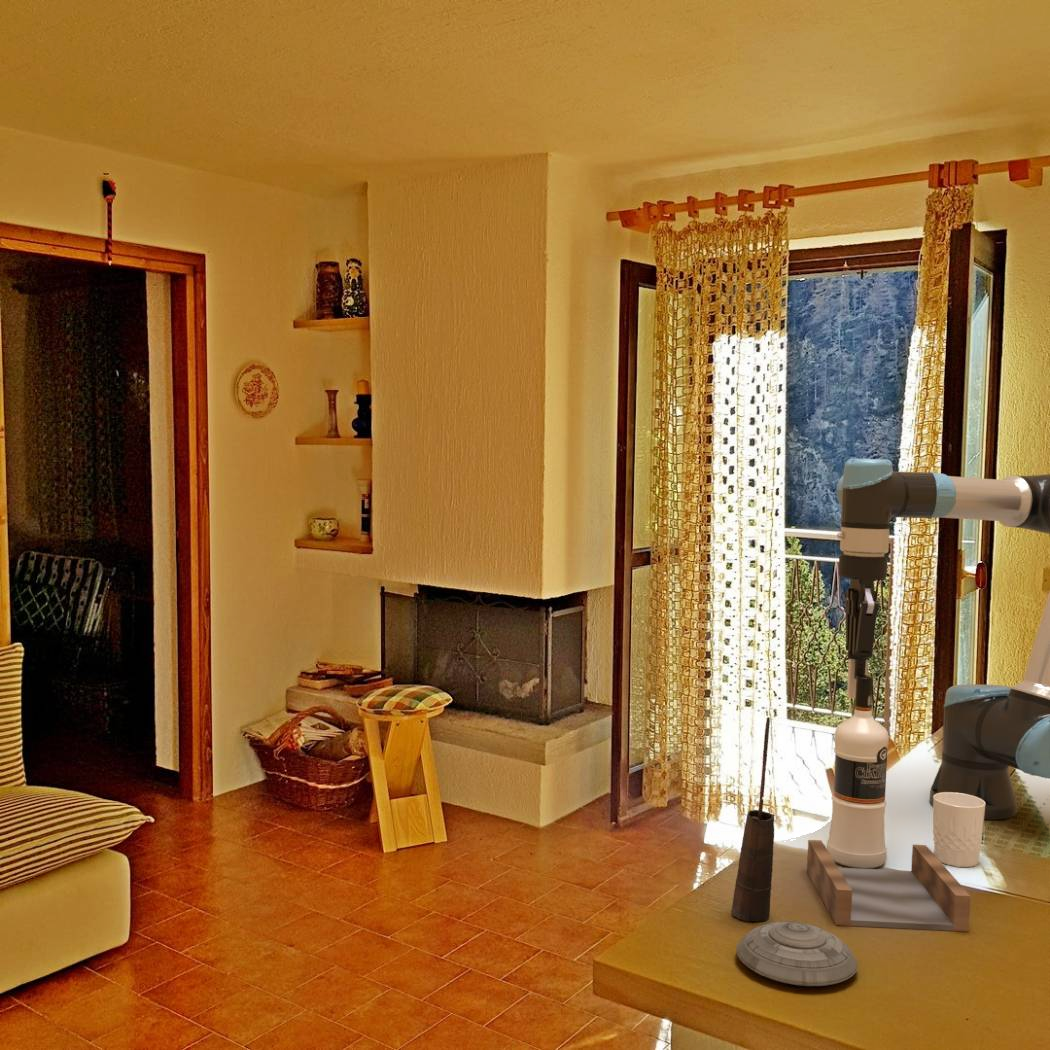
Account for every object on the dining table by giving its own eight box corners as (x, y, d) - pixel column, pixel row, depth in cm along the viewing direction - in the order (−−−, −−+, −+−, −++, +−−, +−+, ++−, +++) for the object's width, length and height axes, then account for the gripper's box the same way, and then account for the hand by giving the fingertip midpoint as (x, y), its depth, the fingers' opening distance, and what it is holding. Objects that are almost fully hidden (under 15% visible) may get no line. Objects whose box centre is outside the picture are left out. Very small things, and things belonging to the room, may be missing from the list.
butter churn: (761, 939, 149) (770, 732, 147) (702, 917, 155) (710, 719, 154) (797, 919, 155) (806, 721, 154) (738, 899, 162) (746, 709, 160)
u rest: (806, 871, 174) (808, 839, 174) (924, 876, 173) (925, 845, 173) (835, 925, 154) (837, 889, 154) (968, 931, 153) (970, 896, 153)
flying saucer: (882, 988, 137) (884, 945, 136) (772, 1002, 132) (774, 957, 132) (816, 936, 151) (818, 897, 150) (715, 947, 147) (717, 907, 146)
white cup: (983, 872, 176) (986, 809, 175) (929, 864, 178) (933, 803, 178) (981, 855, 183) (984, 795, 182) (930, 848, 186) (933, 789, 185)
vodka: (852, 846, 186) (860, 668, 184) (898, 864, 178) (907, 678, 176) (813, 855, 181) (822, 672, 179) (859, 874, 173) (868, 683, 171)
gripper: (831, 549, 187) (824, 688, 189) (849, 556, 174) (842, 705, 176) (876, 551, 187) (869, 690, 189) (898, 558, 174) (890, 707, 176)
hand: (856, 697), depth 182 cm, fingers closed
